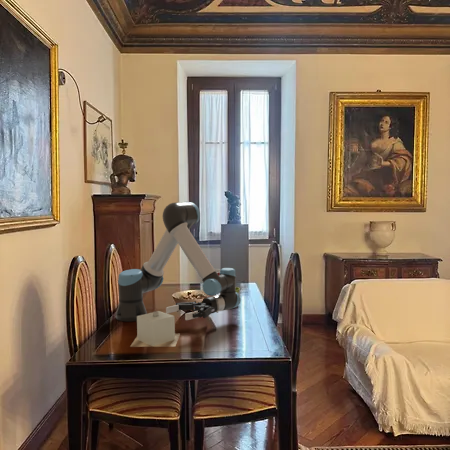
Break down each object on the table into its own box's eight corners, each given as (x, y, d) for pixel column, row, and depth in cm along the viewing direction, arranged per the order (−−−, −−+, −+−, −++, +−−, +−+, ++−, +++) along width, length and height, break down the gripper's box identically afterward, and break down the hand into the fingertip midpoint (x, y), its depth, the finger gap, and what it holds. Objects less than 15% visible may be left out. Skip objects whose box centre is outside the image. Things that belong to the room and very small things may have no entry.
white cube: (152, 346, 175) (152, 317, 174) (137, 339, 183) (136, 312, 182) (174, 339, 182) (174, 312, 182) (159, 333, 190) (158, 307, 189)
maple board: (130, 350, 175) (130, 346, 175) (138, 337, 191) (138, 333, 191) (175, 350, 175) (175, 346, 174) (180, 336, 190) (180, 333, 190)
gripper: (231, 318, 195) (194, 329, 181) (195, 307, 213) (159, 316, 198) (231, 301, 194) (194, 311, 180) (195, 292, 212) (158, 299, 198)
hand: (175, 313), depth 189 cm, fingers open, 13 cm apart
